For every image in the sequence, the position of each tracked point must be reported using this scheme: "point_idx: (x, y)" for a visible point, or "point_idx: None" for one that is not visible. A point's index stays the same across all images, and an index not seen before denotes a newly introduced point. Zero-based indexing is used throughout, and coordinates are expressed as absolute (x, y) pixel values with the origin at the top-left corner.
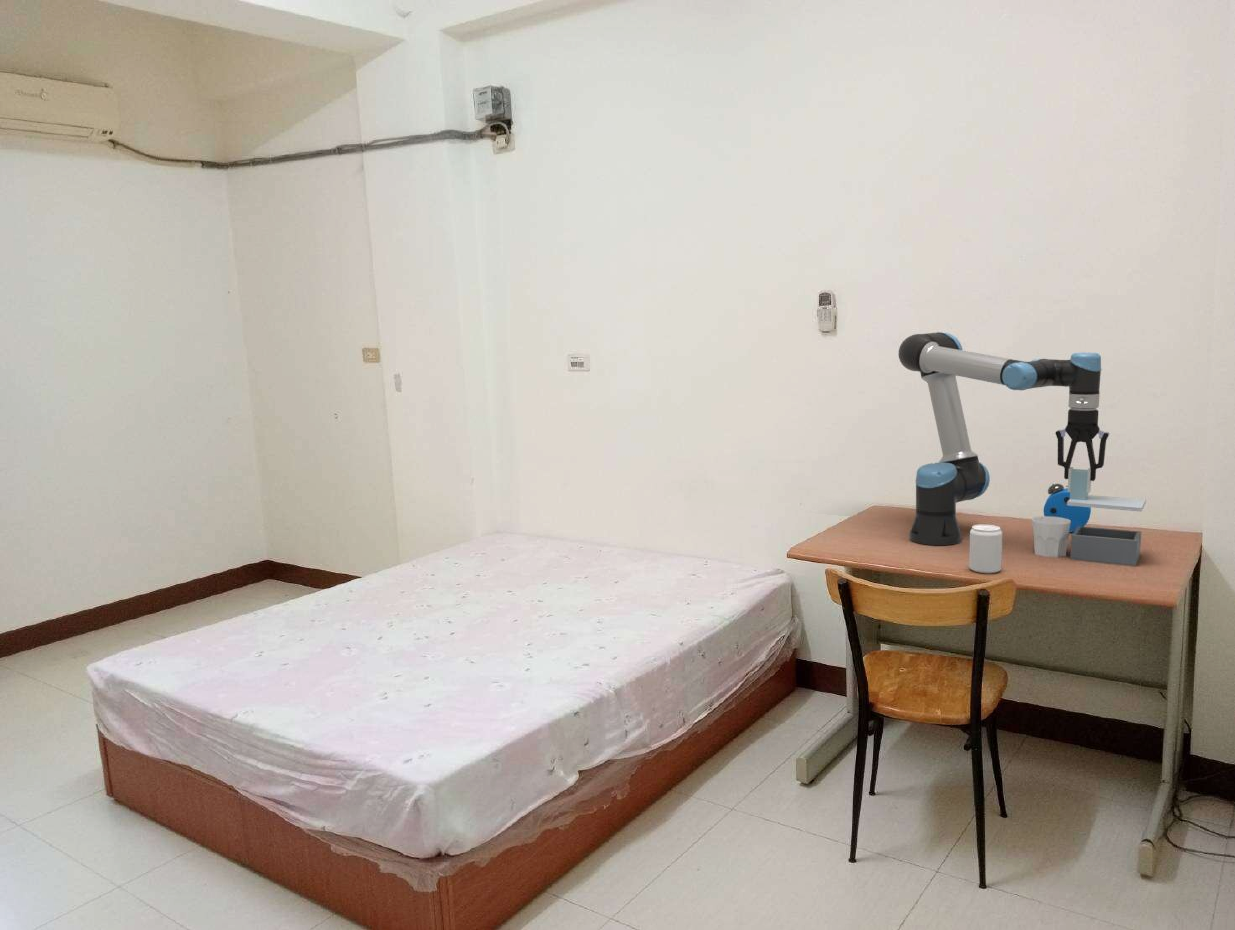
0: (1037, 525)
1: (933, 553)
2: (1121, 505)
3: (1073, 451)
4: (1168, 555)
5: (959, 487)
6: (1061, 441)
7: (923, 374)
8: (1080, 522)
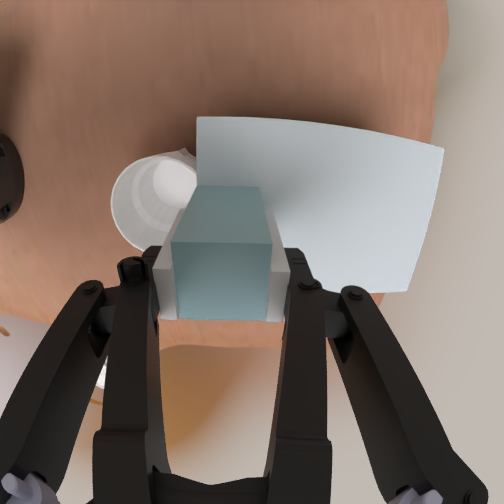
0: (138, 242)
1: (31, 263)
2: (364, 282)
3: (161, 413)
4: (407, 112)
5: None
6: (62, 464)
7: None
8: None
